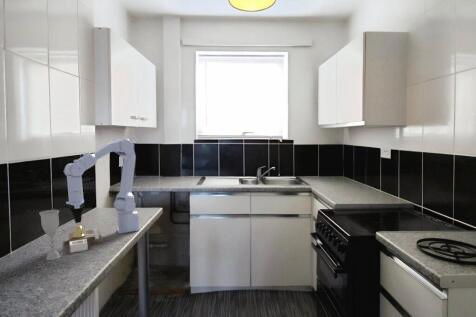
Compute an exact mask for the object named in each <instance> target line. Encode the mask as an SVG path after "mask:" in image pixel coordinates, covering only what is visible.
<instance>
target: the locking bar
mask: <svg viewBox="0 0 476 317" xmlns="http://www.w3.org/2000/svg"><path fill="white" fill-rule="evenodd" d="M97 229H98V228H97V227H96V228H95V227H94V228H92V230H93V233H92V234H86V235H85V238H87V237H95V239H98V238H99V234H98V231H97Z"/></svg>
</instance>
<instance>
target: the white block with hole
mask: <svg viewBox="0 0 476 317" xmlns="http://www.w3.org/2000/svg"><path fill="white" fill-rule="evenodd" d="M88 247H89V245H87V239H82V240H76V241H70V242H69V252H70V253H76V252H77V253H78V252H83V251H87V250H88V249H89V248H88Z"/></svg>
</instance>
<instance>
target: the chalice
mask: <svg viewBox="0 0 476 317" xmlns="http://www.w3.org/2000/svg"><path fill="white" fill-rule="evenodd" d="M38 213H39V216H40V221H41V228H42V229H43V232H44V233H45V234H46V236H49V238H50V240H49V242H50V245H49V246H50V248H51V249H50V251H49V252H48V253H47V255H46V259H45V260H47V261H53V260H57V259H60V258H62V257H61V256H62V255H61V254H60V253H59V251H58V250H56V249H55V246H56V244H55V242H54V241H55V239H54V236H55V235H56V233H57V231H58V229H59V225H60V219H59V213H60V210H59V209H51V210H50V209H48V210H43V211H40V212H38Z"/></svg>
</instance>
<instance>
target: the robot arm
mask: <svg viewBox="0 0 476 317" xmlns="http://www.w3.org/2000/svg"><path fill="white" fill-rule="evenodd" d="M134 146H135V144H134V143H133V142H132V140H131V139H129V138H121V139H119V138H115V139H112V140H110V141H109V142H108V143H106V144H105V145H104V146H103V145H102V147H100V148H99V149H97V150H96V151H94V152H93V153H89V152H88V153H84V154H82V156H81V157H80V158H78V159H74V160H73V163H72V162H71V163H67V164H66V165H65V167H64V170H63V173H64V175H65V176H66V182H67V193H68V194H67V196H68V201H66V202H65V204H66V205H69V209H70V211H71V213H72V216H73V219H74V223H75V224H79V223H81V222H82V216H83V215H82V214H83V211H84V209H85V204H84V203H85V199H84V192H83V190H84V189H83V177H82V175H83V174H84V172H85V171H87V170H88V169H90V168H92V167H94V166H95V165H96V164H97V161H98V160H99V159H101V158H103V157H104V156H107V155H109V154H111V152H112V153H113V152H114V153H116V154H117V155H119V156H120V157H121V158H122V160H123V161H122V171H121V179H120V188H119V192H118V193H117V195H116V197H115V200H114V202H113V207H114V208H113V209H114V210H115V211H116V213H117V216H116V217H117V226H118V227H117V229H116V231H117V233H118V234H125V233H132V232H136V231H137V232H138V231H140V222H139V213H138V211H137V210H135V209H136V202H135V196H134V194H133V193H132V192H133V184H134V175H135V168H136V159H137V157H136V152H135V149H134Z"/></svg>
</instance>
